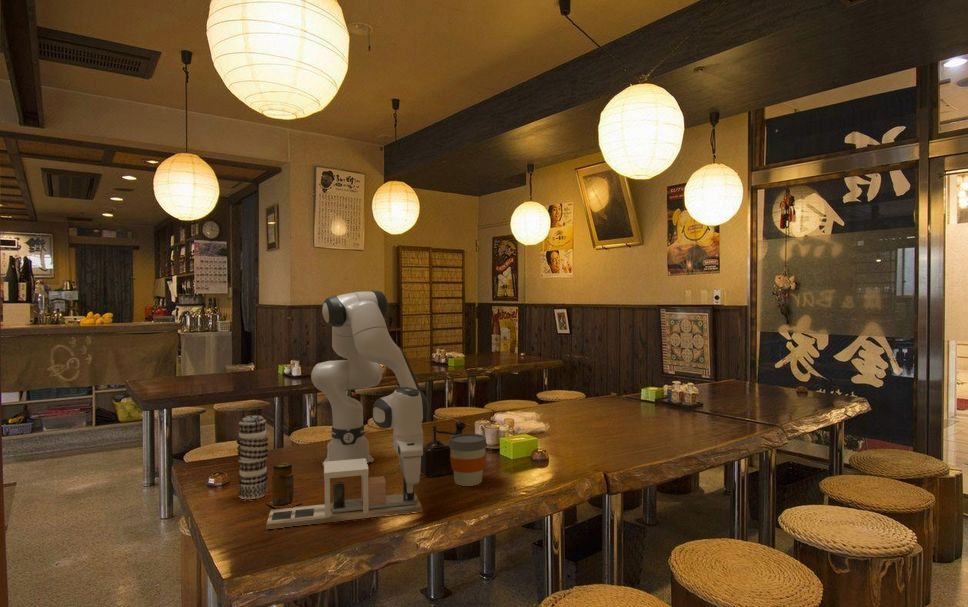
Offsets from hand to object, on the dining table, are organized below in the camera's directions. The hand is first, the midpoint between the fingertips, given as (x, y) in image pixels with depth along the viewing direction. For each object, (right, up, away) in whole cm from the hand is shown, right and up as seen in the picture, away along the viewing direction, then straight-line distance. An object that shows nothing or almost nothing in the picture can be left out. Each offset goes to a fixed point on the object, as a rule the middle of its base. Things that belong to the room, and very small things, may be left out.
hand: (408, 489), depth 164 cm
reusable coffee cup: (+17, -5, +21) cm, 28 cm away
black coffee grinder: (+7, -5, +34) cm, 35 cm away
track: (-17, -5, -5) cm, 19 cm away
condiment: (-38, -6, +3) cm, 39 cm away
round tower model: (-51, -6, +11) cm, 52 cm away
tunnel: (-17, -4, -5) cm, 18 cm away
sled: (-10, -3, -3) cm, 10 cm away
